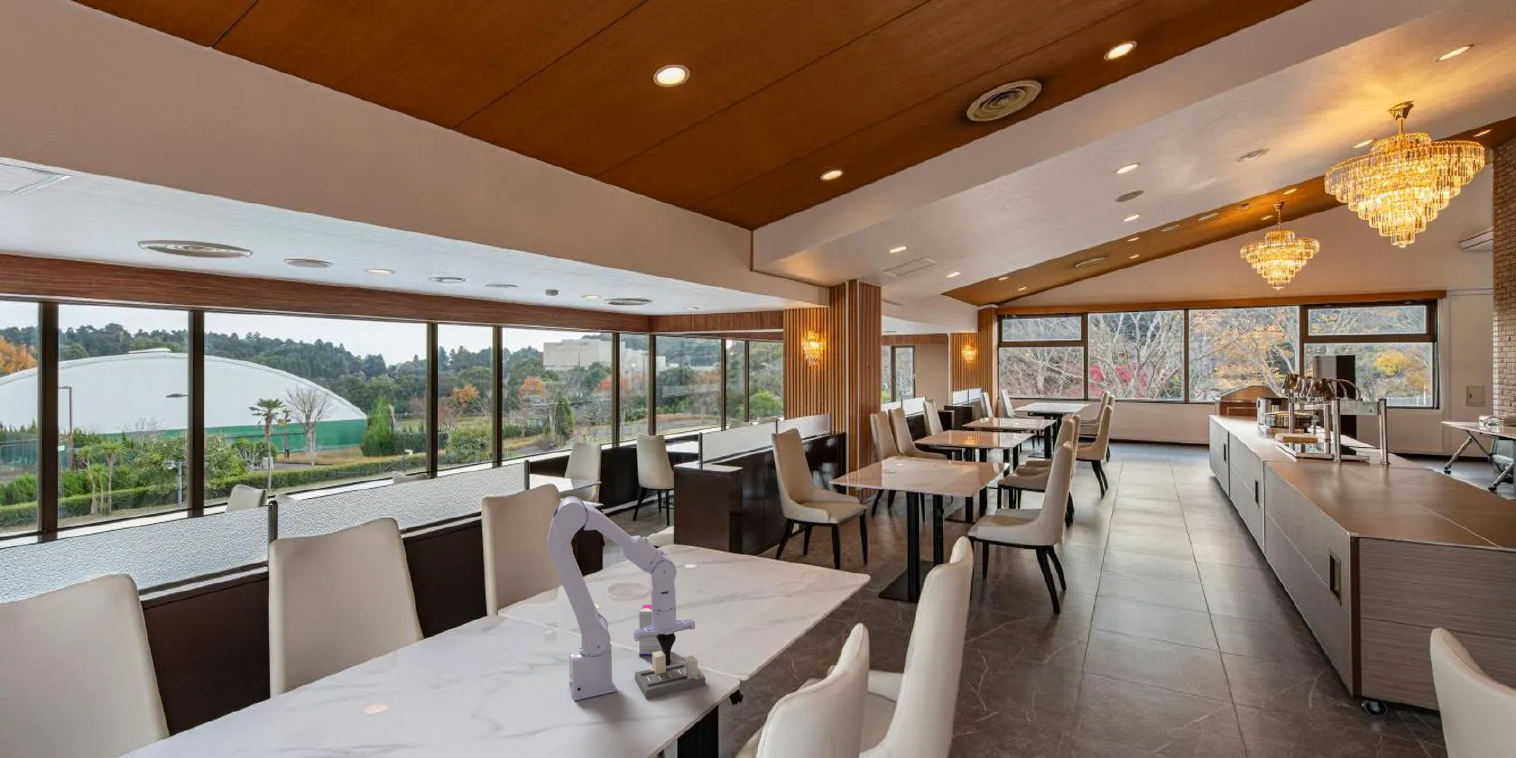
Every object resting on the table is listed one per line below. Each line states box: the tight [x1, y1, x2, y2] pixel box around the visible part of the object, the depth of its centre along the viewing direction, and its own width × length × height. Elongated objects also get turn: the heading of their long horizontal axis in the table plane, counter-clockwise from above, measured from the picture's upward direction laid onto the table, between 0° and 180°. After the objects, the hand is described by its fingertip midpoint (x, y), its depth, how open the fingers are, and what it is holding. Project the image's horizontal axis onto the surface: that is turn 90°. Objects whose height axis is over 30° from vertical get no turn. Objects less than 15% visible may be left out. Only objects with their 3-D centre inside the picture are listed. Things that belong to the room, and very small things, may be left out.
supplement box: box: [638, 604, 662, 657], centre depth 169 cm, size 6×6×12 cm
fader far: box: [651, 651, 666, 674], centre depth 154 cm, size 2×3×5 cm
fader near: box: [682, 655, 699, 680], centre depth 151 cm, size 2×3×5 cm
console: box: [634, 662, 707, 700], centre depth 152 cm, size 14×10×2 cm
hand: (666, 664), depth 154 cm, fingers closed, pressing on fader far
